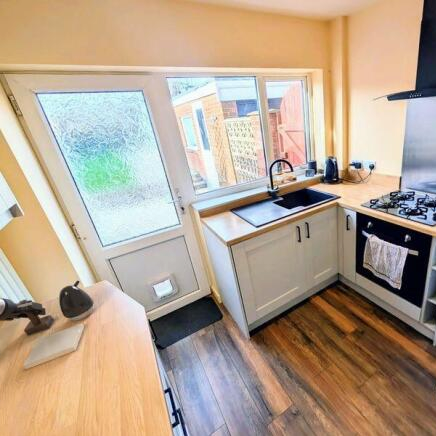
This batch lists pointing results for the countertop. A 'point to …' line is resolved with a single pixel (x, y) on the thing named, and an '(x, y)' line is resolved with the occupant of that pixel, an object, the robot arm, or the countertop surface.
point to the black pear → (75, 302)
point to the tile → (54, 346)
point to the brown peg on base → (37, 322)
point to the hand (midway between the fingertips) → (39, 313)
